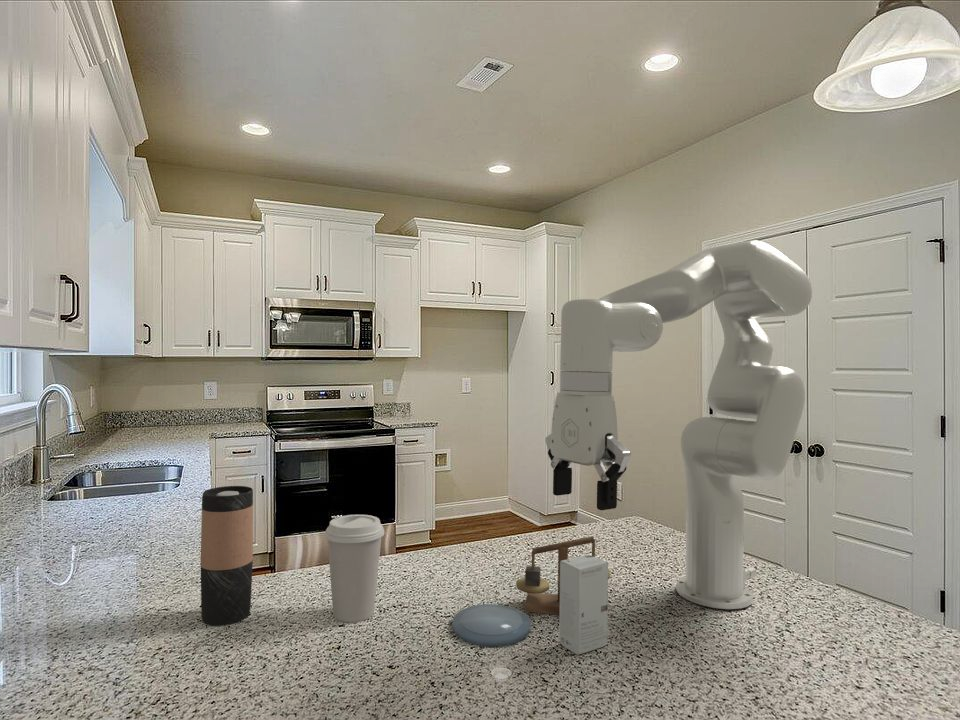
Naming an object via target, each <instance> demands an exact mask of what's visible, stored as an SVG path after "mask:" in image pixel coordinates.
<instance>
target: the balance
mask: <svg viewBox="0 0 960 720" xmlns="http://www.w3.org/2000/svg"><path fill="white" fill-rule="evenodd" d="M589 544H591V556H593V557H596V539H595V538H594V536H593V535H591V536H588V537H583V538H578V539H577V538H576V539H572V540H569V541H568V540H567V541H563V542H558V543H553V544H548V545H543V546H538V547H533V548H531V550H532V551H531V565H526V566H525V573H524V577H520V578H519V579H517V580H516V582H515V583H516V584H515V586H516V588H517V590H518V591H521V592H523V593H526V600H525V604H524V605H525V606H524V607H525V608H524V609H525V612H527V613H537V614H539V613H540V614H549V615H560V561H562V560H567V559H569V548H572V547H577V546H584V545H589ZM554 551H558V552H557V553H558V554H557V561H558V562H557V594H556V593H546V592H548V591H549V590H550V582H549V581H548V580H547V579H544V578H541V569H542V568H541V566H535V565H536V564H535V557H536V555H538V554H543V553H548V552H554ZM610 579H611V571H610V570H609V569H608V580H610ZM525 612H524V613H525Z"/></svg>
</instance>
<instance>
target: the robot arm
mask: <svg viewBox="0 0 960 720" xmlns="http://www.w3.org/2000/svg"><path fill="white" fill-rule="evenodd" d="M812 289H813V287H812V283H811V280H810V278H809V277H808V275H807V274H806V272H805V271H804V270H803V268H801V267H800V266H799V265H797V264H796V263H795V262H793V260H791V259H789V258H788V257H787V256H786V255H785V254H783V253H782V252H781V251H780V250H778V249H777V248H775V247H773V246H772V245H770V244H768V243H766V242H763V241H760V240H748V241H742V242H741V241H740V242H735V243H730V244H724V245H719V246H714V247H709V248H706V249H704V250H701V251H699V252H697V253H695V254H694V255H692V256H691V257H688V258H687V259H685V260H683V261H681V262H680V263H678V264H676V265H675V266H673V267H671V268H669V269H667V270H666V271H663V272H661V273H658V274H655V275H653V276H650V277H648V278H645V279H643V280H641V281H638V282H635V283H633V284H629V285H627V286H625V287H623V288H620V289H617V290H615V291H613V292H610V293H608V294H606V295H604V296H602V297H601V298H599V299H595V298H581V299H579V298H577V299H571V300H568V301H567V302H565V303H564V304H563V306H562V308H561V315H560V316H561V317H560V318H561V319H560V320H561V321H560V357H559V360H560V361H559V362H560V364H559V366H560V367H559V371H560V372H559V392H557V393H556V397H555V400H554V405H553V410H552V411H553V412H552V421H551V429H550V430H551V432H550V434H549V435H547V436H545V438H544V439H545V440H544V441H545V444H546V447H547V448H546V449H547V454H548V458H549V459H550V461H551V462H550V467H551V468H552V469H553V471H552V472H553V475H552V476H553V477H552V478H553V479H552V480H553V481H552V482H553V483H552V495H554V496H564V495H566V496H567V495H571V494H572V491H573V490H572V488H573V487H572V486H573V485H572V484H573V468H572V467H570V466H571V464H572V463H573V464H578V465H581V466H587V467H588V466H590V467H591V466H594V468H595V470H596V472H597V475H598V476H599V478H600V480H597V482H596V508H597V510H598V511H608V510H614V509H616V508H617V506H618V504H617V503H618V481H620V480H621V479H622V476H623V474H624V473H625V472H626V470H627V466H628V464H629V462H630V460H631V457H632V453H631V452H630V450H628V448H627V447H625V446H624V444H622V443H621V442H620V441H619V440H618V438H619V436H618V435H619V434H618V420H617V411H616V410H617V407H616V402H615V397H614V394H613V395H612V391H613V355H614V354H613V352H618V353H619V352H620V353H622V352H623V353H625V352H642V351H645V350H648V349H650V348H652V347H653V346H655V345H656V344H657V343H658V341H660V338H661V337H662V334H663V330H664V324H666V323H671V322H672V323H673V322H676V321H678V320H682V319H685V318H688V317H691V316H692V315H694V314H695V313H697V312H698V311H700V310H701V309H703V308H704V307H706V306H707V305H709V304H710V303H711V302H713V304H714V308H715V312H716V313H717V315H718V319H719V322H720V325H721V327H722V331H723V338H724V339H723V340H724V341H723V346H722V349H721V353H720V355H719V357H718V358H719V359H718V361H717V364H716V366H715V369H714V372H713V375H712V377H711V379H710V380H711V381H710V384H709V386H708V390H707V397H706V398H707V404H708V406H709V407H710V409H711V410H712V411H714V412H715V413H717V414H719V415H722V416H727V417H717V416H704V417H703V416H702V417H697V418H694V419H692V420H691V421H689V422H688V423H687V424H686V425H685V426H684V428H683V430H682V432H681V436H680V437H681V438H680V448H681V455H682V460H683V465H684V473H685V483H686V499H685V500H686V501H685V503H686V504H685V521H686V522H685V576H684V577H682V578H680V579H678V580H677V581H676V587H675V588H676V592H677V594H678V595H679V596H680V597H681V598H683V599H685V600H687V601H689V602H691V603H693V604H696V605H700V606H703V607H706V608H711V609H719V610H740V609H745V608H747V607H750V606H751V605H752V604H753V601H754V595H753V592H752V591H751V590H750V589H749V588H748V587H746V582H747V581H748V580H749V579H754V578H756V577H757V576H758V572H757V569H756V568H755V567H753V566H748V567H745V568H744V542H745V541H744V535H745V533H744V532H745V527H744V526H745V524H744V523H745V499H744V494H743V490H742V489H741V488H742V487H741V486H740V484H739V482H738V480H737V478H736V476H738V477H744V478H749V479H754V480H763V481H770V480H774V479H776V478H777V477H778V476H780V475H781V474H782V473H783V471H784V469H785V468H786V465H787V463H788V460H789V457H790V454H791V451H792V448H793V444H794V440H795V437H796V434H797V432H798V428H799V425H800V422H801V419H802V415H803V410H804V407H805V401H806V398H805V397H806V392H805V385H804V381H803V379H802V377H801V376H800V374H799V373H798V372H797V371H795V370H794V369H792V368H790V367H787V366H781V365H770V364H771V360H772V358H773V351H774V350H773V349H774V347H773V344H772V341H771V339H770V337H769V336H768V334H767V333H766V332H765V330H764V329H763V328H762V326H761V325H760V324H759V322H758V320H757V319H762V318H775V317H776V318H778V317H792V316H795V315H799V314H801V313H802V312H803V311H805V310H806V309H807V307H809V305H810V303H811V302H812V297H813V296H812V295H813V290H812ZM728 417H731V418H728ZM736 418H740V419H736ZM741 418H742V419H743V420H742V419H741ZM745 419H749V420H745ZM750 419H751V420H750ZM754 420H755V421H754ZM605 466H606V467H607V469H606V467H605Z"/></svg>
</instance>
